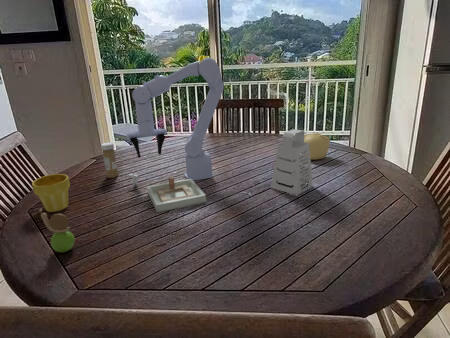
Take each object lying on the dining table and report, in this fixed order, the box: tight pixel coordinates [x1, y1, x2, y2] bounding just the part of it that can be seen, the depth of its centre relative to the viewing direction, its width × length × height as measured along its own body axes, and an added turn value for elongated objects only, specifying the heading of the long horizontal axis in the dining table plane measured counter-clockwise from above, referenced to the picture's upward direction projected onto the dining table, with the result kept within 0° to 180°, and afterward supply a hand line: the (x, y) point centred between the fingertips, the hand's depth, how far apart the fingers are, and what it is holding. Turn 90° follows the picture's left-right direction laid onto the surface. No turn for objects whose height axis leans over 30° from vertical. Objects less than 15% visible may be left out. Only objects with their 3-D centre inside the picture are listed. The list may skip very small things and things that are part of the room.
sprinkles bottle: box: [100, 141, 119, 179], centre depth 131 cm, size 5×5×14 cm
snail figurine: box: [38, 208, 75, 253], centre depth 83 cm, size 5×6×12 cm
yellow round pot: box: [302, 132, 331, 161], centre depth 144 cm, size 12×12×11 cm
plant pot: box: [31, 173, 71, 213], centre depth 107 cm, size 10×10×10 cm
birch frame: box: [157, 176, 194, 203], centre depth 112 cm, size 10×10×5 cm
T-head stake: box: [127, 173, 141, 188], centre depth 122 cm, size 4×2×4 cm, turn 67°
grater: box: [270, 128, 314, 195], centre depth 114 cm, size 10×10×20 cm
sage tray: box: [146, 178, 207, 213], centre depth 112 cm, size 16×16×2 cm
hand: (149, 155), depth 126 cm, fingers open, 7 cm apart
